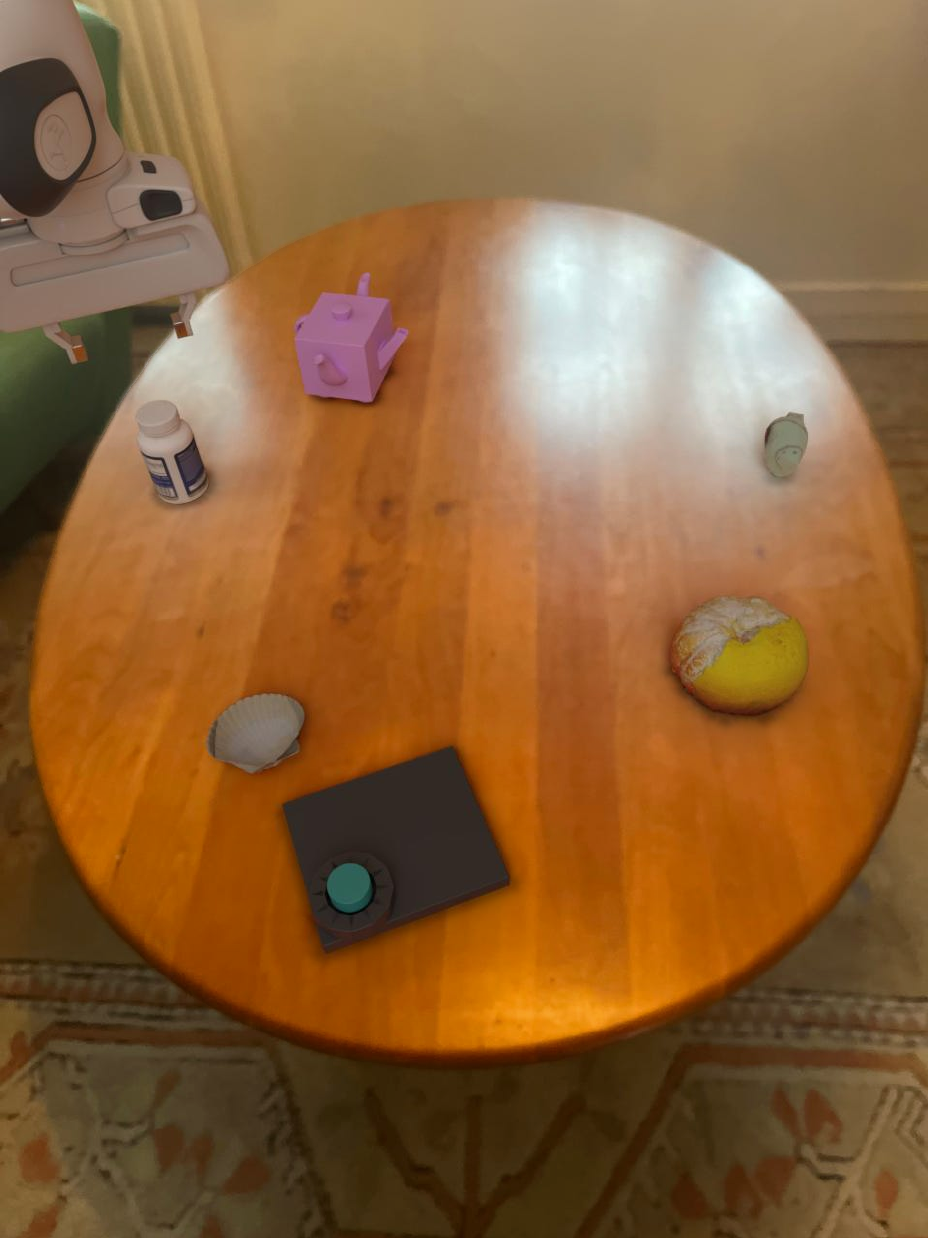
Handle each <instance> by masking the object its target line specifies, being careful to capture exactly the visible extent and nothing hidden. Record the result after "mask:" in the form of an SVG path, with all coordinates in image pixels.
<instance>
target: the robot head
mask: <svg viewBox="0 0 928 1238" xmlns="http://www.w3.org/2000/svg"><path fill="white" fill-rule="evenodd" d="M763 442H764V443H763V444H764V445H763V454H764V458H765V463H766V466H767V468H768V469H769V471H770V473H772V474H773V475H774V476H775V477H777V478H785V477H787V476H789V475H790V474H792V473H794V471H795V470H796V469H797V467H799V465H800V463H801V461H802V459H803V457H804V455H805V454H806V451H807V448H808V443H809V431H808V428H807V426H806V425H805V414H804V413H797V412H791V411H789V412H788V413H787V414H786V415H784V416H779V417H778V418H775V419H773V421H772V422H771V423H770V424H769V425H768V426H767V428H766V429H765V433H764V441H763Z"/></svg>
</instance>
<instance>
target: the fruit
mask: <svg viewBox="0 0 928 1238" xmlns="http://www.w3.org/2000/svg"><path fill="white" fill-rule="evenodd" d="M809 651H810V650H809V644H808V638H807V634H806V632H805V630H804V627H803V626H802V624H801V622H800V620H799V619H798V618H795V617H794V616H789V615H788V614H787V613H785V612H784V611H782V610H781V609H779V608H777V607H776V605H774V604H773V603H771V602H770V601H769V600H767V599H766V597H763V596H756V595H753V596H752V595H751V596H747V597H744V598H741V597H739V596H736V595H732V594H729V595H726V596H720V597H714V598H712V599H710V600H708V601H705V602H704V603H703V604H702V603H700V602H699V603H698V607H696V608H694V609H693V610H691V611H690V613H688V614H687V615H685V616H683V618H682V619H681V620H680V622H679V624H678V625H677V629H676V632H675V633H674V635H673V637H672V640H671V641H670V645H669V662H670V670H671V672H672V673H675V674H676V676H678V678H679V680H680V682H681V684H682V685H683V691H685V692H686V693H687V694H690V695H691V696H693V697H694V699H695V700H696V701H697V702H698V703H700V704H701V705H703V707H705V708H707V709H709V710H711V711H712V712H713V713H714V712H717V713H723V714H724V713H725V714H729V715H730V716H735V715H741V716H743V717H745V716H748V717H749V716H750V717H752V716H761V715H764V714H766V713H770V712H772V711H773V710H776V709H777V708H778V707H780V706H781V705H782V704H784V703H785V702H786V701H788V700H789V699H790V698H792V697H793V696H794V695H795V694H796V693H797V692H798V690H799V689H800V688H801V686H802V684H803V682H804V681H805V679H806V676H807V674H808V671H809V667H810V666H809V664H810V654H809Z"/></svg>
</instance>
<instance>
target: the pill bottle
mask: <svg viewBox="0 0 928 1238" xmlns="http://www.w3.org/2000/svg"><path fill="white" fill-rule="evenodd" d="M135 421H136V423H137V425H138V428H139V432H138V433H137V438H136V441H137V445H138V448H139V452H140V454H141V456H142V459H143V461H144V464H145V466H146V469H147V471H148V473H149V476H150V478H151V481H152V484H153V485H154V488H155V489H154V490H155V491H156V494H157V495H158V497H159V498H160V499H161V500H162V501H164V502H165V503H167V504H168V503H169V504H172V505H182V504H187V503H191V502H192V501H195V500H197V499H198V498H200V497H201V496H202V495H203V494H204V493H205V492H206V491H207V489H208V487H209V476H208V473H207V471H206V467H205V464H204V462H203V459H202V455H201V453H200V449H199V447H198V444H197V440H196V438H195V434H194V432H193V429H192V427H191V425H190V424H189V422H187V421H186V420H184V419H183V418H181V415H180V413H179V410H178V408H177V406H176V405H175V403H173V402H172V401H170V400H165V399H158V400H153V401H150V402H149V401H148V402H147V403H145V404H143V405H142V406H140V408H139V409H138V410H137V411H136V413H135Z"/></svg>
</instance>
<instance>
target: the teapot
mask: <svg viewBox="0 0 928 1238" xmlns="http://www.w3.org/2000/svg"><path fill="white" fill-rule="evenodd" d="M370 281H371V273H369V272H365V273H363V274H362V275H361V277H360V278H359V280H358V285H357V289H356V295H355V294H348V293H347V294H346V293H334V292H325V291H323V292H322V293H321V295H319V298H318V299H317V301H316V302H315V304H314V306H313V307H312V308H311V310H310V311H309V313H306V314H303V315H300V316H299V317H298V318H297V320H296V321H295V323H294V326H293V331H294V334H295V336H294V339H293V341H294V347H295V351H296V355H297V356H296V357H297V361H298V365H299V370H300V376H301V379H302V385H303V390H304V394H305V395H310V396H311V395H312V396H319V397H320V398H323V399H324V398H325V399H326V398H336V399H344V400H353V401H358V402H361V403H373V401H374V400H375V398H376V395H377V393H378V391H379V389H380V387H381V385H382V383H383V381H384V379H385V376H386V375H387V374H388V371H389V369H390V366H391V365H392V362H393V361H394V358H395V357H396V354H397V351H398V349H399V348H400V347H401V345H402V344H403V343H404V342H405V340H406V339H407V338H408V336H409V334H410V330H408V329H406V328H403V327H400V326H399V327H397V329H396V330H395V331H394V323H393V314H392V306H391V299H390V298H385V297H376V296H375V297H374V296H371V295H370V288H369V287H370Z"/></svg>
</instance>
